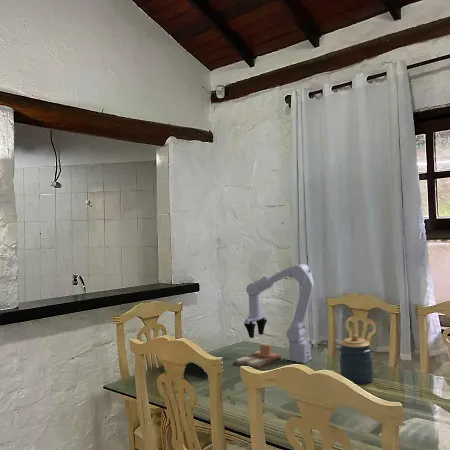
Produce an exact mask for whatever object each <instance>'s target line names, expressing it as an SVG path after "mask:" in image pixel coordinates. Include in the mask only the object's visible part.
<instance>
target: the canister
mask: <svg viewBox="0 0 450 450" xmlns="http://www.w3.org/2000/svg"><path fill="white" fill-rule="evenodd" d="M340 345H341V346H339V347H338V350H339V356H338V359H339V375H340V374H341V375H342V376H344V377H346V378H347V379H349V380H351V381H353V382H354V383H353V384H369V383H372V382H373V380H374V376H375V375H374V374H375V372H374V368H373V367H374V366H373V364H374V363H373V360H374V358H373V356H372V352H373V348H372V347H371V346H370V345H371V342H369V341H367V340H366V338H361V337H359V336H358V334H356V333H355V334H352V335H351V337H347V338H344V339H343V340H341V341H340Z"/></svg>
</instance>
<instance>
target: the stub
mask: <svg viewBox="0 0 450 450" xmlns="http://www.w3.org/2000/svg"><path fill="white" fill-rule="evenodd" d="M259 349H260V350H257V351H254V352H253V355H257V356H263V357H268V358H274V359H275V358H277V357H280V353H274V352H272V345H271V344H265V343H261V344H259Z"/></svg>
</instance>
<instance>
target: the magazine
mask: <svg viewBox="0 0 450 450" xmlns="http://www.w3.org/2000/svg"><path fill="white" fill-rule="evenodd" d="M185 374H187V375H191V376H194V377H201V378H205V379H207V378H209V377H208V375H207V373H206V372H204V370H203V369H202V368H201V367H199V366H198V365H196V364H194V363H189V364H187V366H186V368H185Z"/></svg>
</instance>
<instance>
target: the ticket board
mask: <svg viewBox="0 0 450 450" xmlns="http://www.w3.org/2000/svg"><path fill="white" fill-rule="evenodd" d="M279 359H280V360H281V359H282V357H281V356H279V357H277V358H275V359H274V358H268V357H263V356H257V355H253V354H250V355H248V356H245V355H244V356H243V357H239V358H237V359H236V360H235V361H233V363H232V364H233V365H235V366H239V367H242V366H241V365H244V366H250V367H253V368H252V369H254V368H256V369H255V370H261V369H263V368H265V367H267V366H269V365H271V364H273V363H275V362H278V361H280V360H279ZM244 366H243V367H244Z"/></svg>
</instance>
